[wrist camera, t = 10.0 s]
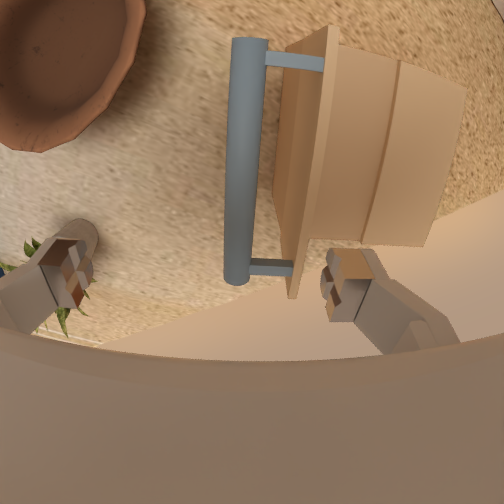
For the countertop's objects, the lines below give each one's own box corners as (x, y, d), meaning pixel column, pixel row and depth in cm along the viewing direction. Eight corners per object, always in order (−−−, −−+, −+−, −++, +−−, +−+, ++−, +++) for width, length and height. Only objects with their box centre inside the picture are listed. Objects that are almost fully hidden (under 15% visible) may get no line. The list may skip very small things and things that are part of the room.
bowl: (98, -59, 14) (56, -85, 5) (216, 26, 24) (205, 6, 15) (-1, 72, 22) (-55, 88, 13) (91, 160, 32) (46, 198, 23)
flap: (341, 25, 10) (232, 13, 10) (296, 302, 20) (222, 298, 20) (311, 40, 17) (239, 33, 17) (286, 239, 27) (229, 236, 27)
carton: (413, 76, 26) (468, 88, 18) (386, 203, 37) (423, 247, 28) (285, 47, 25) (307, 37, 17) (271, 193, 36) (282, 241, 27)
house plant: (28, 226, 36) (-28, 294, 23) (64, 167, 32) (-11, 233, 18) (88, 281, 43) (52, 361, 30) (135, 236, 38) (95, 326, 25)
